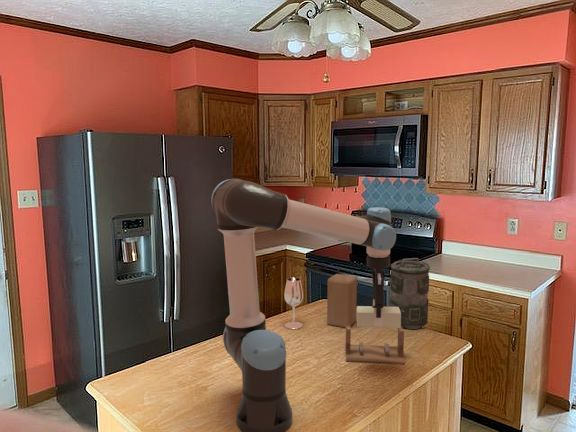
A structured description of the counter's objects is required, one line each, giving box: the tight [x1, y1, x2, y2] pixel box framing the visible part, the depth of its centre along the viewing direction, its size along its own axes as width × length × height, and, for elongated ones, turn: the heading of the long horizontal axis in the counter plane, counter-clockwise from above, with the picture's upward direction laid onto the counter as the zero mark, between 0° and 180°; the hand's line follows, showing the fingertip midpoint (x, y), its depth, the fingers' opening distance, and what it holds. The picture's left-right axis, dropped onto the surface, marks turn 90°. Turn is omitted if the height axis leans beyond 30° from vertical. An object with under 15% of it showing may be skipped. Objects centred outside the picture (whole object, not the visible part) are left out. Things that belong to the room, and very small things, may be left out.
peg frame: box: [344, 325, 406, 365], centre depth 161 cm, size 13×20×10 cm, turn 84°
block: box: [326, 273, 358, 329], centre depth 189 cm, size 10×10×20 cm
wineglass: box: [283, 277, 304, 330], centre depth 187 cm, size 8×8×20 cm
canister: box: [388, 257, 431, 330], centre depth 189 cm, size 16×16×28 cm
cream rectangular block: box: [356, 305, 401, 329], centre depth 150 cm, size 6×14×5 cm, turn 83°
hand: (377, 322), depth 150 cm, fingers closed on cream rectangular block, 6 cm apart
